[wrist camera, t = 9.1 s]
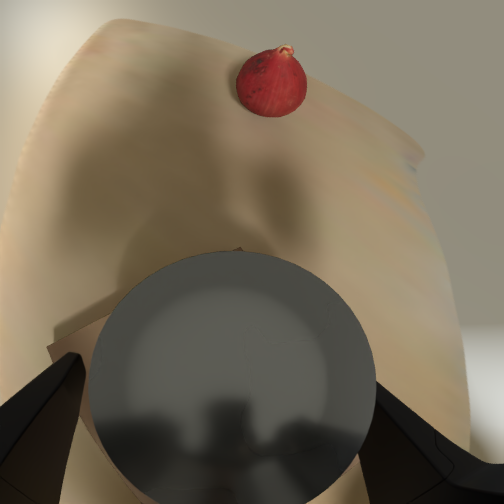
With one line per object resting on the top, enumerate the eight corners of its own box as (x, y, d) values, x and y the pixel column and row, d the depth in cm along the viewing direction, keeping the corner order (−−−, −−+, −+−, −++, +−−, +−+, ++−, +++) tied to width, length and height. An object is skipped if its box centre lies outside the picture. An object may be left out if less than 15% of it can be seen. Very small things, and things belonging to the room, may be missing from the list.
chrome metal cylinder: (209, 418, 15) (246, 555, 3) (148, 359, 16) (37, 381, 4) (266, 361, 17) (415, 376, 5) (207, 304, 17) (240, 197, 5)
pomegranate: (236, 137, 23) (255, 62, 16) (226, 94, 25) (240, 25, 18) (299, 136, 25) (333, 70, 17) (283, 95, 26) (307, 33, 19)
